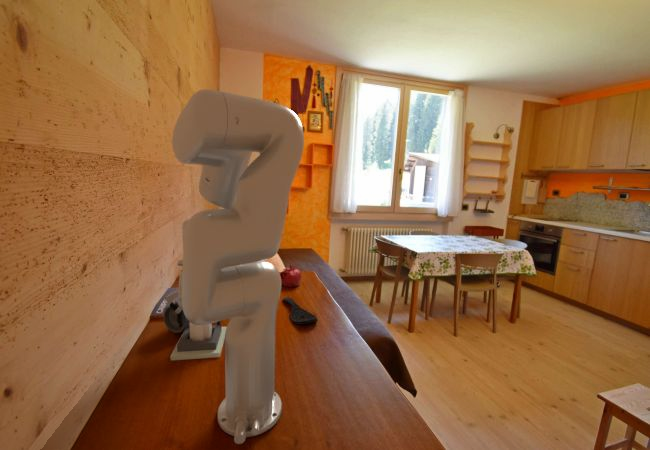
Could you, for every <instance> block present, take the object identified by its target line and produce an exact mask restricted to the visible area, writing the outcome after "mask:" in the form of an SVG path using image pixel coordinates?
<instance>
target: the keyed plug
mask: <svg viewBox="0 0 650 450" xmlns="http://www.w3.org/2000/svg"><path fill="white" fill-rule="evenodd" d="M212 325H213V323H211V324H206V325H195V324H192V323H191V322H190V339H192V341H201V340H205V339H206V338H211V337H212Z"/></svg>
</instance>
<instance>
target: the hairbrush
mask: <svg viewBox="0 0 650 450" xmlns="http://www.w3.org/2000/svg"><path fill="white" fill-rule="evenodd" d="M282 301H283V302H284V303H286V304H289V305H290V306H291V310H290V313H289V318H290V319H289V320H290V321H291V323H292V324H294V325H303V324H310V323H315V322H318V317H317V316H318V314H316V313H315V312H314V311H309V310H307V309H306V307H305V306H304V308H302V307H300V305H298V303H297V302H296V301H295V300H294V299H293V298H292V297H283V298H282Z"/></svg>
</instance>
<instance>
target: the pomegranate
mask: <svg viewBox="0 0 650 450" xmlns="http://www.w3.org/2000/svg"><path fill="white" fill-rule="evenodd" d="M292 266H293V264H292V263H291V264H289V267H288V266H285V268H283V269H282V271H281V272H279V273H280V277H281V286H283V287H288V288H293V287H297V286H299V284H300V283H301V281H302V277H303V276H302V272H301V271H300V269H298V268H297V266H293V267H292Z"/></svg>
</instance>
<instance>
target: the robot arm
mask: <svg viewBox="0 0 650 450" xmlns="http://www.w3.org/2000/svg"><path fill="white" fill-rule="evenodd" d="M172 131H173V132H172V138H171V141H172V143H171V144H172V145H171V146H172V152H173V154H174V156H175V159H177V161H178V162H179V163H182V164H185V165H199V166H202V169H201V173H200V178H199V183H198V191H199V194H200V195H201V197H202V198H204V200H206V201H207V202H208V203H211V204H212V205H214V206H217V207H219V208H216V209H215V208H213V209H205V210H201V211H198V212H196V213H194V214H192V216H191V217H190V218H188V219H185V220H184V221H183V222H182V226H181V228H182V250H183V251H182V252H183V255H182V259H181V260H178V261H177V266H180V267H182V269H181V270H180V272H179V279H178V290H175V291H173V292H172V293H169V294H168V295H166V297H165V298H164V299H165V301H166V303H167V304H168V306H170V307H171V308H172V309H173V310H174V311H175V313H177V323H179V327H183V325H184V323H185V317H186V318H187V320H188V321H189V322H191V323H192V324H195V325H206V324H211V323H212V324H215V323H216V325H221V322H223V321H226V320H229V321H228V323H227V326H226V327H227V329H226V333H225V340H224V367H225V368H224V370H225V371H224V372H225V380H224V381H225V398H223V400H222V401H221V403H220V404H219V406H218V408H217V409H218V410H217V423H218V425H219V427H220V429H221V430H223V432H224V433H227V434H228V435H229V436H232V437H233V441H234V443H235V444H237V445H241V444H243V443H244V442H245V441H246V439H247V438H249V437H256V436H258V435H261V434H263V433H265V432H267V431H268V430H270V429H271V428H272V427H274V426H275V424H277V422H278V420H279V419H280V417H281V414H282V409H283V403H282V399H281V397H280V395H279V394H278V392H276V391H275V381H276V380H275V374H276V373H275V370H276V369H275V368H276V367H275V366H276V365H275V364H276V363H275V362H276V358H275V357H276V325H277V324H276V321H277V313H278V307H279V303H280V297H281V293H282V284H281V277H280V273H281V272H280V271H279V269H278V268H277V267H276V266H275V265H274V264H273V263H271V262H270V261H267V260H269V259H271V258H273V257H274V256H276V255H277V253H278V252H279V249H280V247H281V242H282V238H283V235H284V234H283V233H284V228H285V223H286V217H287V212H288V211H287V210H288V206H289V200H290V199H289V198H290V193H291V188H292V186H293V182H294V179H295V177H296V175H297V172H298V169H299V166H300V165H301V164H300V163H301V161H302V157H303V152H304V147H305V133H304V128H303V125H302V122H301V120H300V117H299V116H298V115H297V114H296V113H295V112H294V110H291V108H289V107H286V106H285V105H281V104H279V103H276V102H273V101H269V100H266V99H261V98H256V97H251V96H245V95H244V96H243V95H239V94H236V93H235V94H234V93H231V92H230V93H229V92H225V91H220V90H214V89H200V90H198V91H196V92H194V93H193V94H192V96H191V97H190V99H189V100H188V101H187V103H186V105H185V106H184V108H183V109H182V110H181V112H180V113H179V115H178V118H177V120H176V122H175V125H174V128H173V130H172ZM253 153H258V154H259V155H258V156H257V157H256V158H254V160H252V162H251V163H250V160H251V157H252V154H253ZM249 163H250V164H249ZM175 298H177V301H178V303H176V302H177V301H175Z"/></svg>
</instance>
